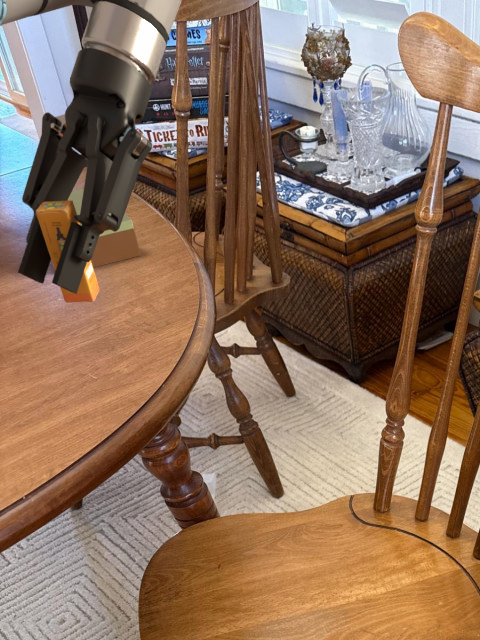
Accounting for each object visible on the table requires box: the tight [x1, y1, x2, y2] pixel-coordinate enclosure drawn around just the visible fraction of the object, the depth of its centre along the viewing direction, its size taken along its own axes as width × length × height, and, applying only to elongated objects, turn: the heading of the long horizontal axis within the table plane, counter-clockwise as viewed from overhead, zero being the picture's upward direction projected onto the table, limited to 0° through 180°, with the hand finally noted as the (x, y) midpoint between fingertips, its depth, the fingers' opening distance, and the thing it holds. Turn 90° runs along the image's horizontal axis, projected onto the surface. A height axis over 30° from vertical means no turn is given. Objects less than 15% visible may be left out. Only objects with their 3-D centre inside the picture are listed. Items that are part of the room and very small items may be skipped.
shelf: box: [67, 188, 142, 269], centre depth 110 cm, size 16×10×5 cm, turn 32°
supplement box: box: [36, 200, 100, 304], centre depth 83 cm, size 3×3×10 cm
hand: (47, 282), depth 82 cm, fingers closed on supplement box, 4 cm apart
